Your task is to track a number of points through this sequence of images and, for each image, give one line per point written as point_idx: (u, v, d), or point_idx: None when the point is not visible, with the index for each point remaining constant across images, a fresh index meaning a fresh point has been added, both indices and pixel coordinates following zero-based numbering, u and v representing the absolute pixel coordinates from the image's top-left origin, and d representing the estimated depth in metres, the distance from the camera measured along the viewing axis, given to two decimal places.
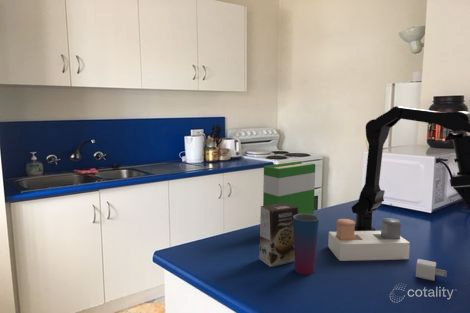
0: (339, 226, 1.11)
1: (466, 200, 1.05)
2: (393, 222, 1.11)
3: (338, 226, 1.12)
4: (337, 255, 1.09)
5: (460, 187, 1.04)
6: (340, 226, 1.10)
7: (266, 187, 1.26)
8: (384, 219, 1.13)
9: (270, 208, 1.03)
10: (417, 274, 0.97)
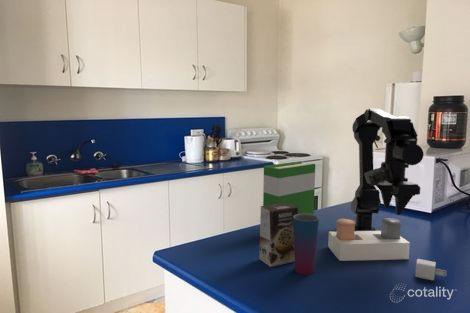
0: (339, 226, 1.11)
1: None
2: (393, 222, 1.11)
3: (338, 226, 1.12)
4: (337, 255, 1.09)
5: None
6: (340, 226, 1.10)
7: (266, 187, 1.26)
8: (384, 219, 1.13)
9: (270, 208, 1.03)
10: (417, 274, 0.97)
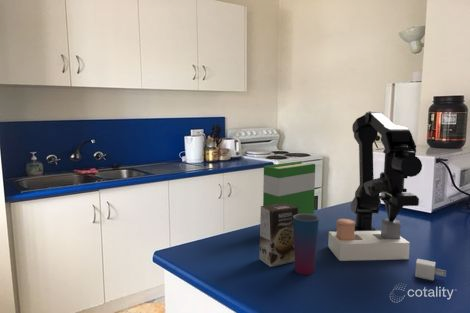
0: (339, 226, 1.11)
1: None
2: (393, 223, 1.11)
3: (338, 226, 1.12)
4: (337, 255, 1.09)
5: None
6: (340, 226, 1.10)
7: (266, 187, 1.26)
8: (384, 219, 1.13)
9: (270, 208, 1.03)
10: (416, 274, 0.97)
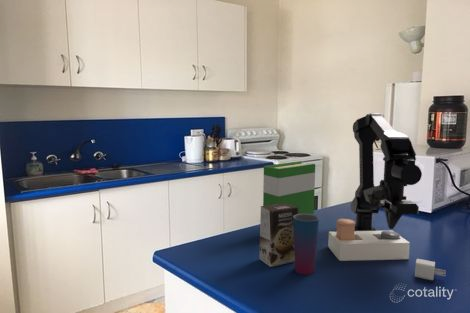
0: (339, 226, 1.11)
1: None
2: (392, 235, 1.11)
3: (338, 226, 1.12)
4: (337, 255, 1.09)
5: None
6: (340, 226, 1.10)
7: (266, 187, 1.26)
8: (383, 232, 1.14)
9: (270, 208, 1.03)
10: (416, 274, 0.97)
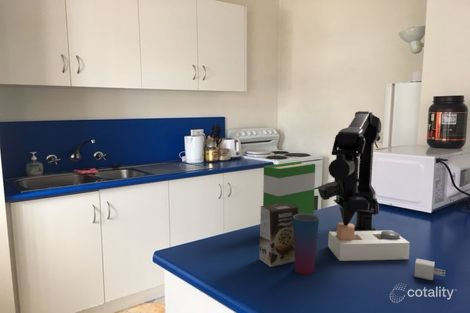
0: (339, 230, 1.11)
1: None
2: (392, 235, 1.11)
3: (338, 230, 1.12)
4: (337, 255, 1.09)
5: None
6: (340, 230, 1.10)
7: (266, 187, 1.26)
8: (383, 232, 1.14)
9: (270, 208, 1.03)
10: (416, 274, 0.97)
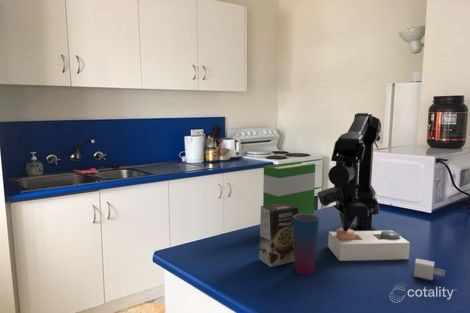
0: (339, 235, 1.12)
1: None
2: (392, 235, 1.11)
3: (338, 235, 1.12)
4: (337, 255, 1.09)
5: None
6: (340, 236, 1.11)
7: (266, 187, 1.26)
8: (383, 232, 1.14)
9: (270, 208, 1.03)
10: (415, 274, 0.97)
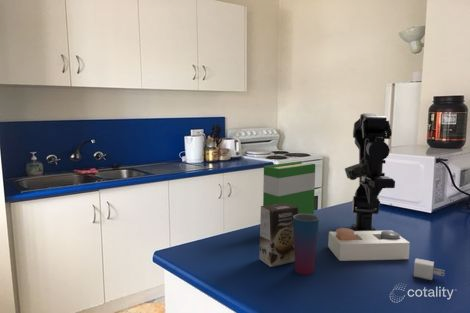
0: (339, 235, 1.12)
1: None
2: (392, 235, 1.11)
3: (338, 235, 1.12)
4: (337, 255, 1.09)
5: None
6: (340, 236, 1.11)
7: (266, 187, 1.26)
8: (383, 232, 1.14)
9: (270, 208, 1.03)
10: (415, 273, 0.97)
